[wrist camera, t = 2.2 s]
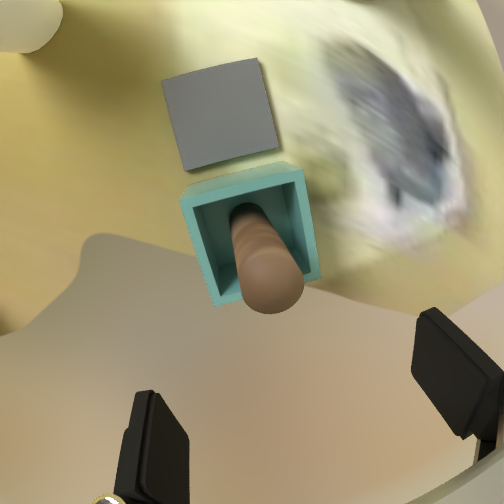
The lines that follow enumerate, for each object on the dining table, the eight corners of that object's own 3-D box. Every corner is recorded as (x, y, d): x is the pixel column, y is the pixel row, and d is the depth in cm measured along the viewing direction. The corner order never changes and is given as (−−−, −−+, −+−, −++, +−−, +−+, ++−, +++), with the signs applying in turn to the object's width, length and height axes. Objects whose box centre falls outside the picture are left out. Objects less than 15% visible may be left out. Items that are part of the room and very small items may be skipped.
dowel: (261, 198, 26) (298, 249, 14) (269, 232, 27) (308, 304, 16) (224, 207, 25) (233, 267, 14) (234, 242, 27) (249, 320, 16)
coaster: (256, 59, 22) (257, 57, 21) (277, 147, 25) (279, 147, 24) (162, 82, 21) (161, 81, 21) (185, 170, 24) (184, 171, 24)
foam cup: (94, -11, 16) (33, -73, 4) (49, 73, 19) (-43, 53, 7) (29, -14, 14) (-38, -53, 2) (-9, 62, 17) (-93, 52, 5)
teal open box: (283, 161, 25) (302, 169, 20) (300, 249, 28) (321, 278, 23) (187, 185, 25) (179, 200, 19) (213, 272, 28) (214, 306, 23)
